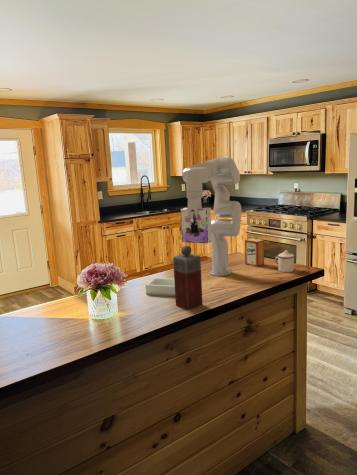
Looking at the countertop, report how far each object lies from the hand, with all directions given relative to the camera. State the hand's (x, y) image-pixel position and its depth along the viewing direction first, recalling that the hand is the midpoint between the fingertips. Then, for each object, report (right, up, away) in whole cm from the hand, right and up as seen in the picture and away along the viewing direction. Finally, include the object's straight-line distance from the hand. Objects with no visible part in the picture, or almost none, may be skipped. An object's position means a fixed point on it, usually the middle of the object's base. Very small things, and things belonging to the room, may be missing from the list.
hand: (196, 231), depth 183 cm
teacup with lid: (+53, -22, +38) cm, 69 cm away
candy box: (0, -5, +1) cm, 5 cm away
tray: (-14, -31, +11) cm, 35 cm away
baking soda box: (+39, -20, +52) cm, 68 cm away
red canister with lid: (-4, -34, -8) cm, 35 cm away
